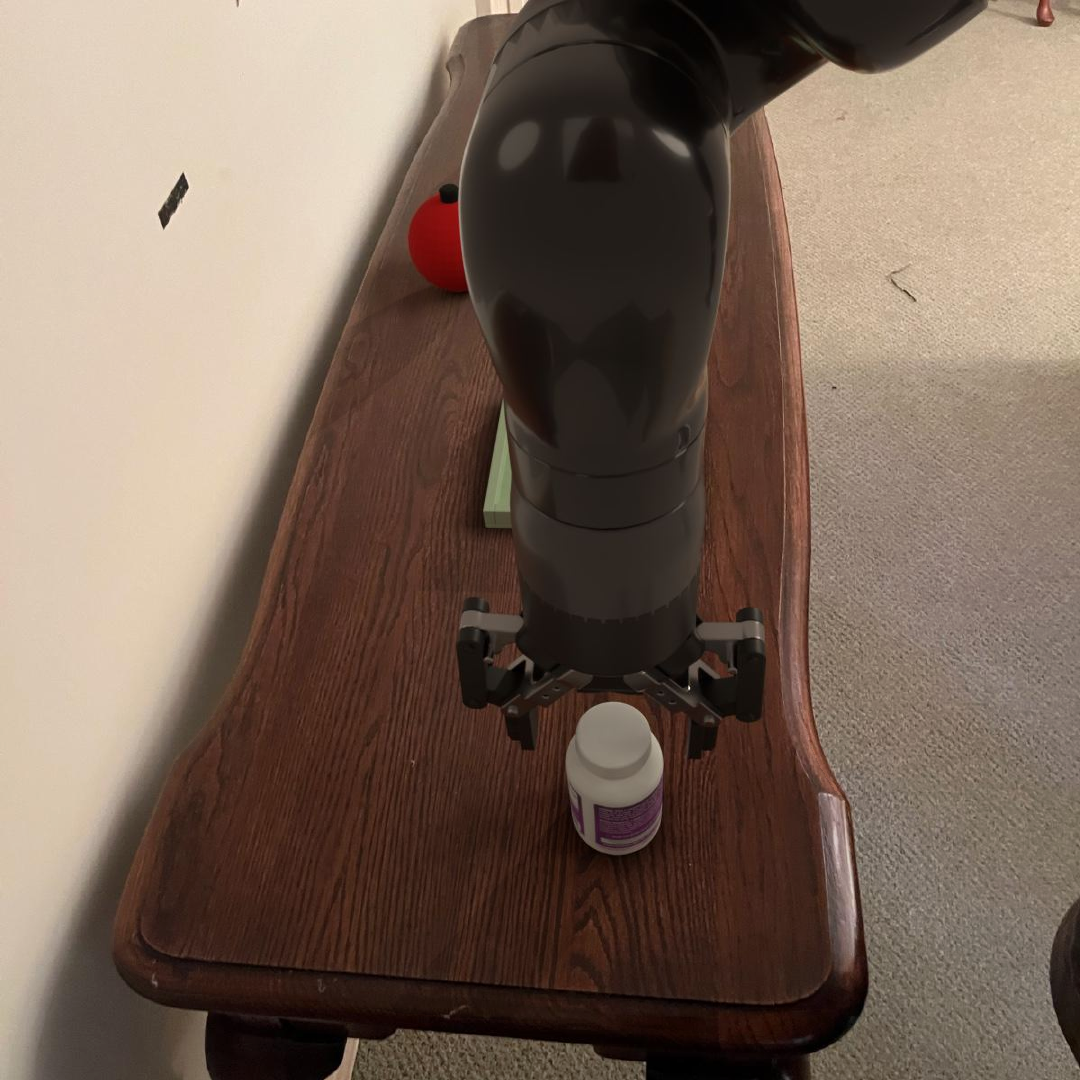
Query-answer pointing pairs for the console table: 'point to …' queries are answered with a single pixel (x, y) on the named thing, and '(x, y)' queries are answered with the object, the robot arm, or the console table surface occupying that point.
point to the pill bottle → (615, 779)
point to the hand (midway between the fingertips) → (611, 739)
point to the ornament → (438, 240)
